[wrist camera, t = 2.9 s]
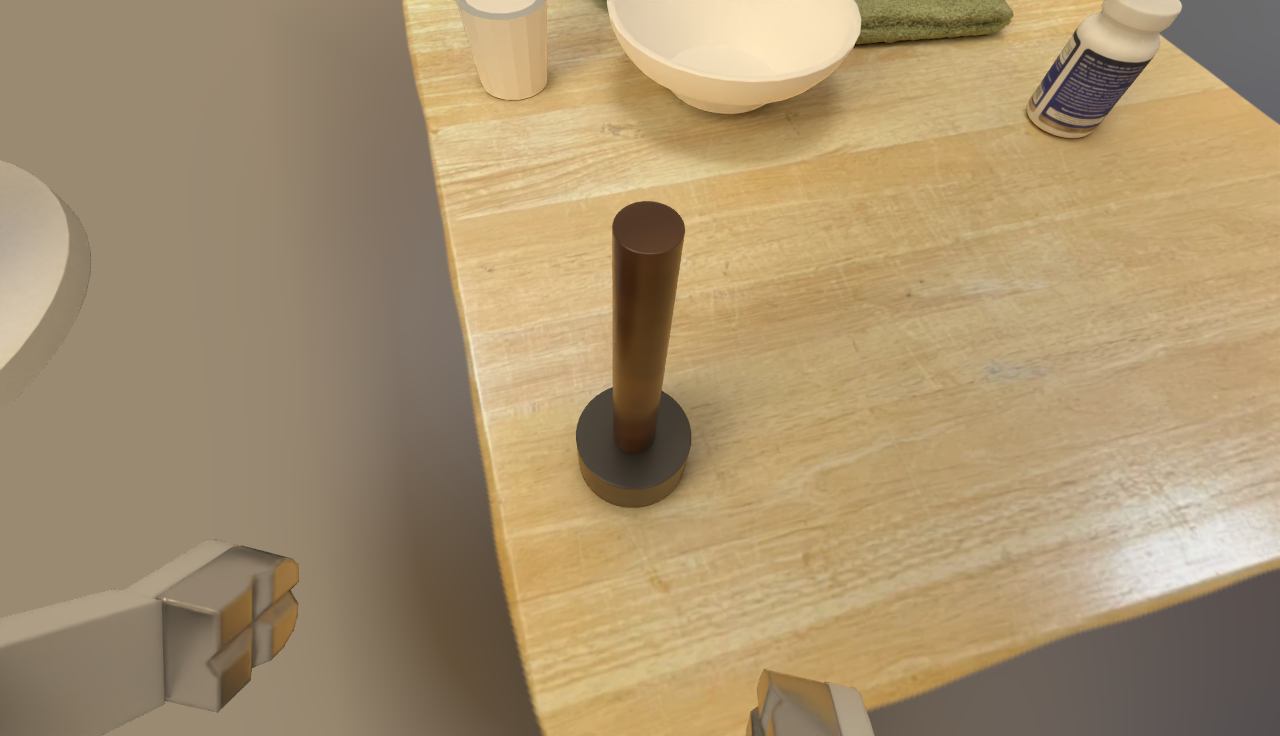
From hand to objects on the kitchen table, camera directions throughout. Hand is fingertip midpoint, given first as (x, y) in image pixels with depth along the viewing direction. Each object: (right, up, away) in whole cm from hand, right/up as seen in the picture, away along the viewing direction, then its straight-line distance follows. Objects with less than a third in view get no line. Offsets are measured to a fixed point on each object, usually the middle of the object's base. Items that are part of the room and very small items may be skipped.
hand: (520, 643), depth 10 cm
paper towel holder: (+2, 0, +23) cm, 23 cm away
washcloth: (+28, +40, +49) cm, 69 cm away
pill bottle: (+38, +26, +41) cm, 61 cm away
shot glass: (-9, +29, +41) cm, 51 cm away
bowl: (+9, +29, +41) cm, 51 cm away
